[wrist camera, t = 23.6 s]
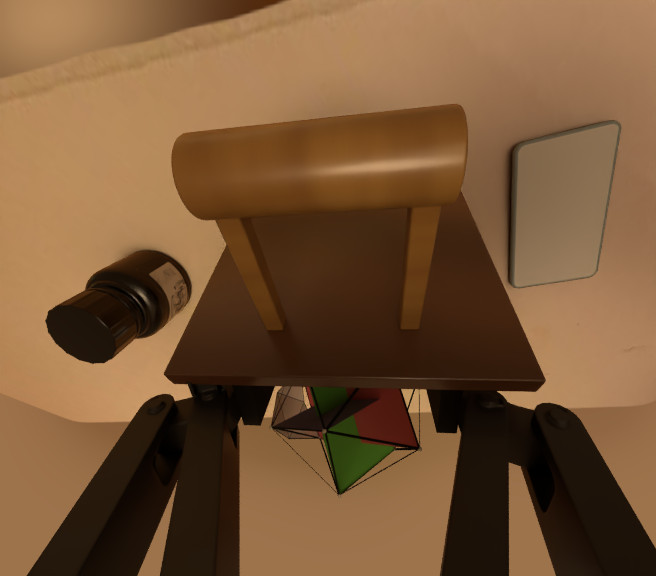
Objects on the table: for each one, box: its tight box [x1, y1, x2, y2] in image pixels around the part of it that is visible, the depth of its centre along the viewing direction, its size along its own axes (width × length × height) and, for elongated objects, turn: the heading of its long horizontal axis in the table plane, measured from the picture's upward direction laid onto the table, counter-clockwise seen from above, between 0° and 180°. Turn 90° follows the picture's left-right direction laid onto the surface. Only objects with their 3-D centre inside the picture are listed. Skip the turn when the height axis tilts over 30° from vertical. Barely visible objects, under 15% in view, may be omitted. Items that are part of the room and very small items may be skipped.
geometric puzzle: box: [270, 386, 422, 498], centre depth 15 cm, size 7×7×8 cm
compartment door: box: [164, 104, 546, 392], centre depth 13 cm, size 16×13×8 cm
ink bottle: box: [45, 251, 190, 364], centre depth 33 cm, size 10×9×12 cm
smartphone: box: [510, 120, 621, 288], centre depth 29 cm, size 8×1×15 cm
